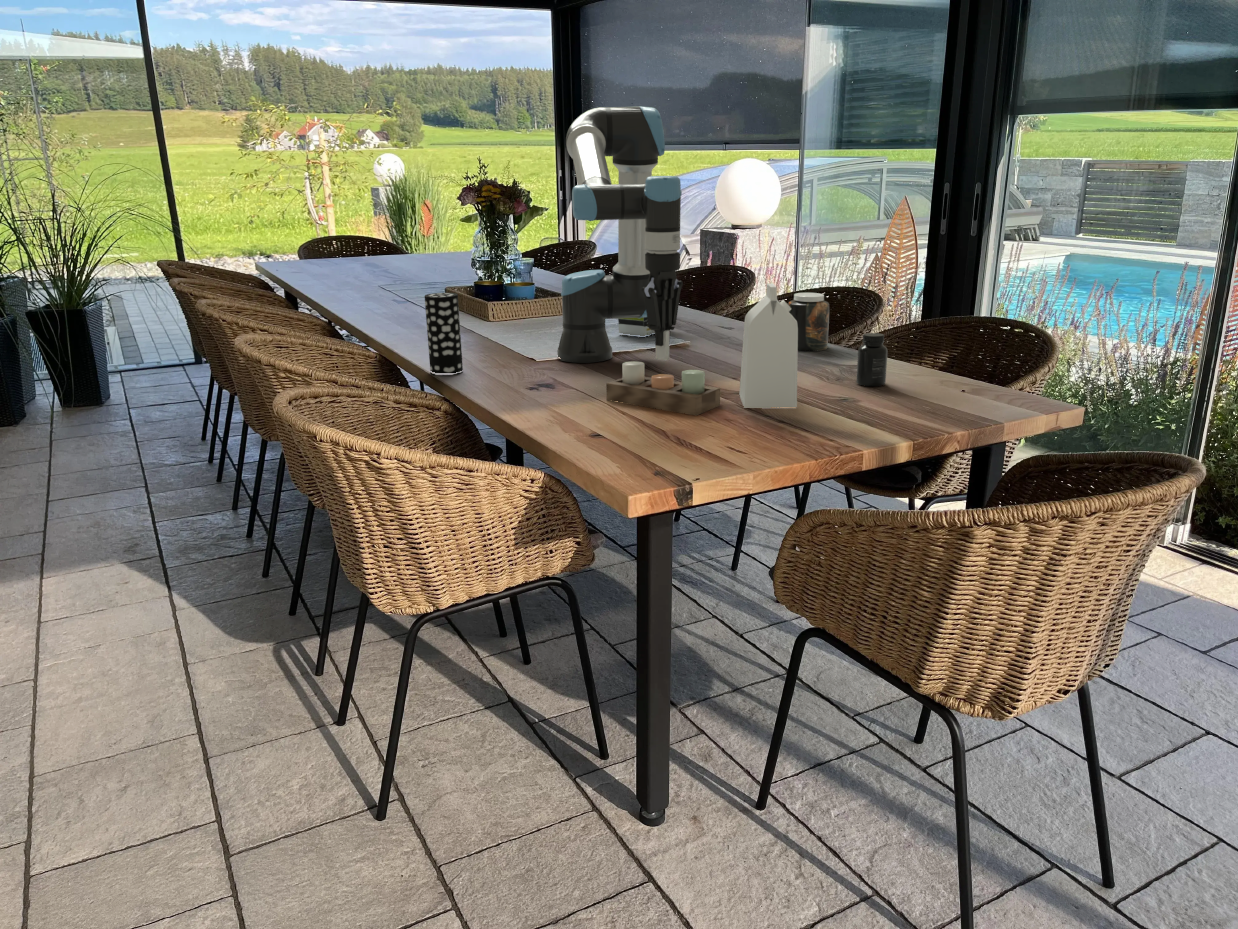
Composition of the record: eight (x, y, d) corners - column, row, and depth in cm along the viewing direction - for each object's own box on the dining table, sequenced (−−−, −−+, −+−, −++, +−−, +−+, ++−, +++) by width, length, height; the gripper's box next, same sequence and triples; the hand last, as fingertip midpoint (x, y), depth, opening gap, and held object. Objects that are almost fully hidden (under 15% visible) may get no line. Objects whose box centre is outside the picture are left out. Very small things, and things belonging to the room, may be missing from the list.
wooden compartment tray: (606, 400, 215) (606, 383, 214) (632, 391, 223) (631, 374, 222) (696, 415, 202) (696, 397, 201) (720, 405, 210) (720, 387, 208)
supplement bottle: (886, 381, 229) (890, 332, 225) (884, 388, 222) (888, 337, 219) (857, 380, 231) (860, 331, 227) (854, 386, 225) (857, 336, 221)
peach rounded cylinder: (647, 399, 212) (647, 377, 210) (659, 394, 216) (659, 373, 214) (665, 402, 209) (665, 380, 207) (678, 397, 213) (678, 375, 211)
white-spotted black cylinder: (469, 370, 247) (464, 293, 241) (451, 377, 240) (445, 298, 233) (442, 367, 250) (437, 292, 244) (424, 374, 243) (417, 296, 237)
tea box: (644, 327, 302) (644, 281, 298) (671, 330, 297) (671, 283, 292) (617, 335, 291) (616, 287, 286) (644, 338, 285) (644, 289, 280)
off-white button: (618, 386, 216) (617, 364, 214) (630, 381, 219) (630, 360, 218) (636, 388, 213) (636, 367, 211) (648, 384, 217) (648, 363, 215)
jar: (781, 350, 266) (783, 296, 261) (790, 342, 276) (792, 290, 272) (823, 352, 262) (826, 298, 257) (830, 344, 272) (833, 292, 267)
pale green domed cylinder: (677, 395, 207) (677, 373, 205) (689, 390, 210) (689, 368, 209) (696, 398, 204) (697, 375, 202) (708, 393, 208) (709, 371, 206)
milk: (739, 395, 218) (742, 281, 210) (789, 394, 218) (794, 281, 210) (744, 408, 207) (747, 289, 199) (796, 408, 207) (802, 288, 198)
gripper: (660, 255, 195) (660, 367, 203) (693, 249, 205) (692, 355, 213) (630, 253, 199) (631, 362, 207) (664, 247, 209) (664, 351, 217)
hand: (662, 359), depth 210 cm, fingers closed
